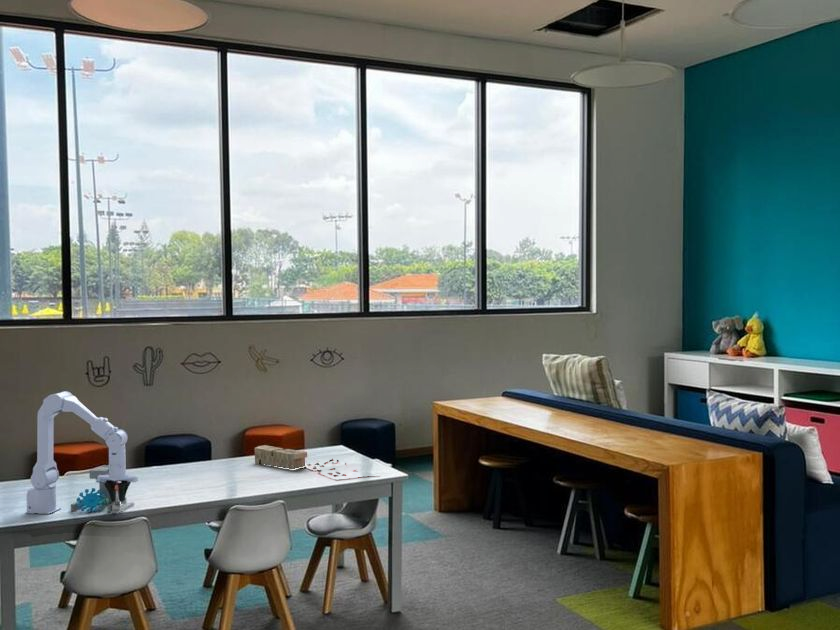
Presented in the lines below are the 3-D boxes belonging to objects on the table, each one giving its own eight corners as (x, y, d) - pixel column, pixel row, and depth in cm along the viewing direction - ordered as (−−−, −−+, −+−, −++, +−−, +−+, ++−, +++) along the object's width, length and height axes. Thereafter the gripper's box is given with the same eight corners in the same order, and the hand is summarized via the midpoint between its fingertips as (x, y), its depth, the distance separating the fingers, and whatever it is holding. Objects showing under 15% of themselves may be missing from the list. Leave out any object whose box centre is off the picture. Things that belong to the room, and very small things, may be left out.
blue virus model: (73, 509, 298) (79, 486, 305) (74, 518, 302) (79, 494, 309) (106, 512, 301) (111, 488, 308) (106, 520, 305) (110, 496, 312)
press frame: (68, 512, 301) (68, 474, 301) (92, 500, 317) (91, 464, 317) (117, 513, 299) (117, 475, 298) (138, 502, 315) (138, 465, 315)
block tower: (252, 465, 387) (294, 471, 368) (252, 447, 387) (293, 452, 368) (266, 462, 393) (307, 468, 374) (265, 445, 393) (307, 450, 374)
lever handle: (112, 509, 300) (111, 483, 300) (116, 507, 303) (115, 481, 303) (120, 510, 300) (119, 483, 300) (124, 507, 303) (123, 481, 302)
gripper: (92, 465, 298) (93, 503, 298) (131, 466, 296) (131, 504, 296) (102, 461, 305) (103, 498, 305) (140, 462, 303) (140, 499, 303)
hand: (117, 501), depth 301 cm, fingers closed on lever handle, 3 cm apart
